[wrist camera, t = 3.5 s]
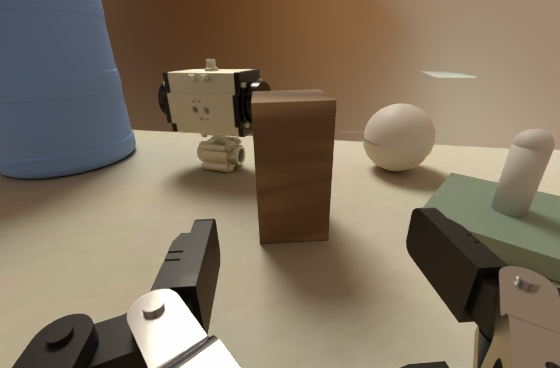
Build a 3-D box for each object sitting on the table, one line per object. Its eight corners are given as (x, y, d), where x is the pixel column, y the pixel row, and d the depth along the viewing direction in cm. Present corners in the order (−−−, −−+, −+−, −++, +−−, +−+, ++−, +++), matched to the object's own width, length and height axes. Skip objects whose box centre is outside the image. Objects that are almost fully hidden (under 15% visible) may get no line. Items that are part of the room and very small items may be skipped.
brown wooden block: (328, 239, 21) (336, 100, 17) (260, 243, 21) (251, 103, 17) (315, 206, 26) (319, 89, 21) (259, 209, 25) (252, 91, 21)
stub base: (601, 297, 16) (680, 170, 13) (413, 231, 22) (434, 133, 18) (588, 220, 23) (637, 125, 19) (447, 186, 29) (467, 109, 25)
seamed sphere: (432, 164, 34) (446, 100, 31) (421, 187, 28) (437, 113, 25) (351, 150, 39) (356, 95, 36) (328, 169, 33) (332, 104, 30)
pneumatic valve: (193, 156, 38) (178, 58, 33) (274, 165, 35) (271, 57, 30) (165, 171, 34) (142, 61, 29) (256, 184, 30) (248, 59, 25)
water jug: (160, 144, 44) (109, -98, 32) (67, 188, 30) (-82, -206, 18) (79, 138, 48) (7, -79, 36) (-36, 175, 34) (-215, -157, 22)
